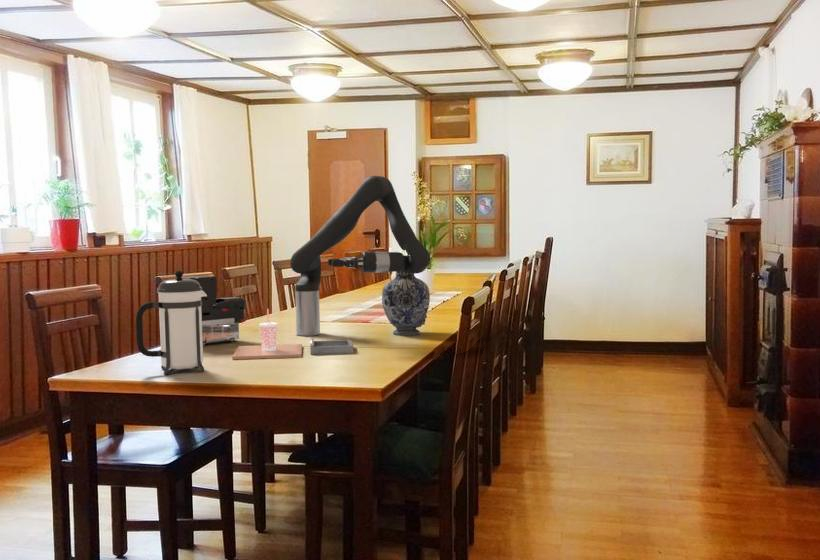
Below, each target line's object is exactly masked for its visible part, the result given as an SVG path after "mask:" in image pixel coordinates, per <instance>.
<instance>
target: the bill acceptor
mask: <svg viewBox="0 0 820 560" xmlns="http://www.w3.org/2000/svg"><path fill="white" fill-rule="evenodd" d="M181 278H182V279H193V280H196V281H197V282H199V284H200V287H202V291H204V292H205V294H206V295H207V296H203V297H201V300H202V306H201V315H202V343H203V347H205V345H206V344H209V343H211V344H213V343H218V342H227V341H231V343H232V344H233V343H234V342H233V341H236V340H239V339H240V325H239V323H244V322H245V314H244V313H245V312H244V310H246V299H244V298H243V297H237V296H231V297H229V296H227V297H218V298H217V295H218V289H217V288H218V284H217V283H218V282H217V281H218V279H217V276H211V275H210V276H209V275H207V276H206V275H205V276H197V275H195V276H193V275H192V276H182V277H181Z"/></svg>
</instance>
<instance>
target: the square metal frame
mask: <svg viewBox="0 0 820 560" xmlns="http://www.w3.org/2000/svg"><path fill="white" fill-rule="evenodd" d="M309 344H310V345H309V346H310V348H309V349H310V350H309V351H310V355H312V356H313V355H314V356H315V355H317V356H319V355H339V354H341V355H345V354H347V355H348V354H353V353H354V346H353V342H352V340H351V339H337V340H336V339H334V340H333V339H331V340H315V338H314V337H310V342H309Z"/></svg>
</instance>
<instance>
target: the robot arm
mask: <svg viewBox="0 0 820 560" xmlns="http://www.w3.org/2000/svg"><path fill="white" fill-rule="evenodd" d="M375 202H378V203H379V204H380V205H381V207H382V208H383V210H384V211H385V212H386V213H385V214H386V215H387V216H386V217H387V218H388V223H389V227H390V230H391V233H392V236H393V237H394V239H395V241H396V243H397V244H398V246H399V247H400V250H402V251H406V252H407V254H408V255H405V254H403V253H402V252H399V251H394V252H393V251H362V252H361V254H360V258H359V257H358V256H351V257H350V256H349V257H346V256H345V257H339V258H328V259H327V265H328V266H332V267H333V268H339V267H340V268H341V267H343V268H347V269H358V268H360V270H361V272H362V273H364V274H372V273H373V274H376V273H377V274H379V273H381V274H382V273H387V272H388V273H389V272H392V273H393V272H395V273H396V271H400V272H405V273H412V274H414V275H415V274H420V273H423V272H424V271H426V269H427V268H428V266H429V265H430V264H431V254H430V253H429V251H428V249H427V248H426V247H425V246H424V244H423V243H422V242H421V240H419V239H418V238H417V236H416V234H415V232H414V231H413V229H412V227H411V225H410V223H409V222H408V219H407V218H406V216H405V213H404V211H403V210H402V207H401V205H400V202H399V199H398V197H397V195H396V192H395V189H394V186H393V184H392V182H391V181H390V179H388V178H387V177H385V176H381V175H372V176H368V177H366V178H365V179H364V180H363V182H362V183H361V184H360V185H359V187H358V188H357V189H356V190H355V192H354V193H353V194H352V195H351V197H350V198H349V199H348V200H347V201H346V202H345V203H344V204H343V205H342V206H341V207H340V208H339V209H338V210H337V211H336V212H334V214H333V215H332V216H331V217H330V218H329V219H328V220H327V221H326V222H325V223H324V224H323V225H322V226H321V228H320V229H319V230H317V232H316V233H315V234H314V235H313V236H312V237H311V239H309V240H308V241H307V242H306V243H305V244H303V245H302V246H301V247H300V248H298V249H297V250H296V251H295V252H294V253H293V254H292V255H291V257H290V261H289V262H290V268H291V270H292V271H293V272H295V273H296V274H300V277H299V280H298V281H297V282H296V283H295V285H294V287H295V288H294V290H295V292H294V293H295V294H294V295H295V323H296V324H295V329H296V330H295V331H296V335H297V336H317V335H321V315H320V313H321V312H320V310H321V309H320V286H321V281H322V260H321V255H323V254H324V253H325V252H326V251H328V250H330V249H331V248H333V247H334V246H336V245H337V244H339V243H341V242H342V241H343V240H345V238H347V237H348V235H350V234H351V233H352V232H353V230H354V229H355V228H356V226H357V224H358V222H359V221H360V218H361V215H362V214H363V213H364V212H365V211H366V210H367V209H368V208H369V207H370V206H371V205H372V204H373V203H375Z"/></svg>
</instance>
